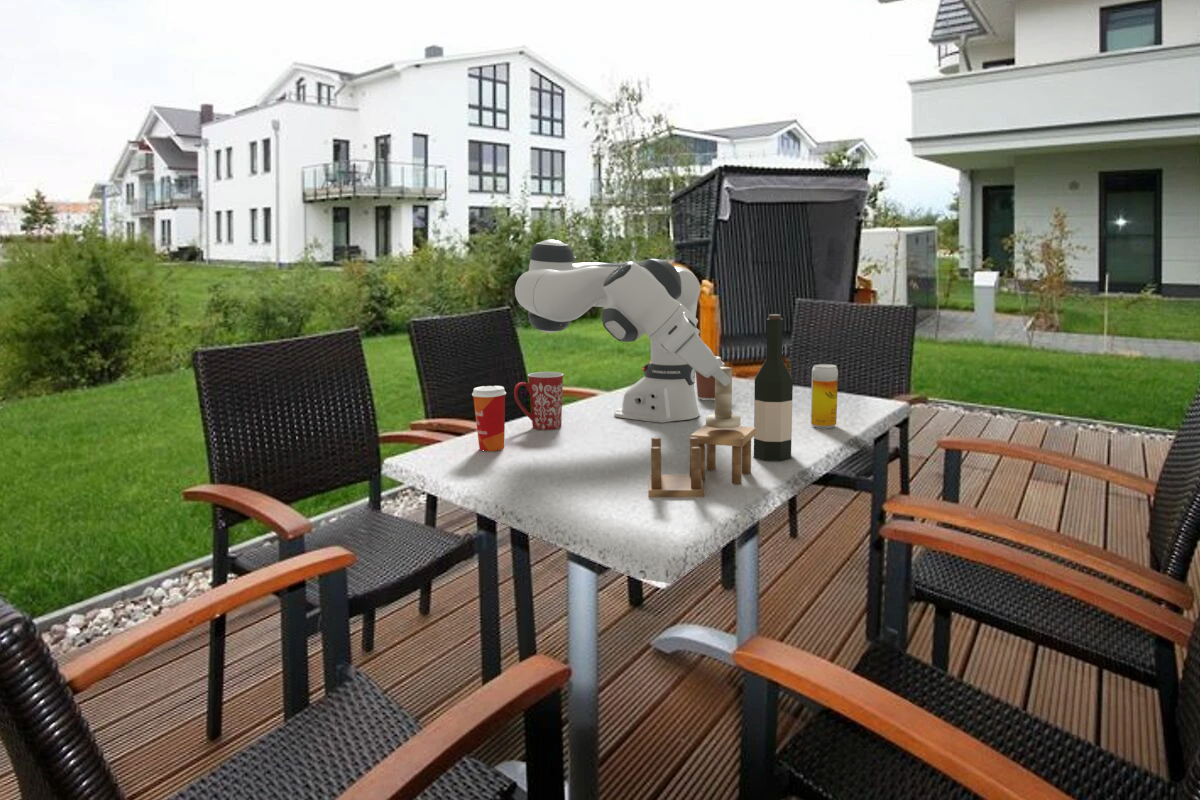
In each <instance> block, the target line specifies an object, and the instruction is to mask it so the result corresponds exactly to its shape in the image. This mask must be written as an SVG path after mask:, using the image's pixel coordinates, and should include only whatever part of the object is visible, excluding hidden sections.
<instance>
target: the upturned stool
mask: <svg viewBox="0 0 1200 800" xmlns="http://www.w3.org/2000/svg"><path fill="white" fill-rule="evenodd" d="M650 442H651V447H650V472H651V474H649V475H648V476H649V477H648V498H705V488H704V482H703V481H704V480H702V475H701V447H699V438H697V437H691V436H690V437H689V474H662V438H661V437H657V436H655V437H651V441H650Z"/></svg>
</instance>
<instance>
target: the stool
mask: <svg viewBox="0 0 1200 800" xmlns="http://www.w3.org/2000/svg"><path fill="white" fill-rule="evenodd" d="M755 430H756V428H755V427H754V426H743V425H742V426H741V425H740V426H738V427H735V428H713V427H709V426H707V425H706V424H705V425H703V426H702V427H700V428H699V429H697V430H696V431H694V432H693V433H691V434H690V438H691V437H697V438H699V447H701V475H702V481H705V480H706V470H707V471H711V472H712V471H716V466H717V465H716V463H717V460H716V459H717V458H716V457H717V454H716V453H717V452H716V451H717V447H716V445H717V446H725V447H727V446H728V447H731V484H733V485H740V484H742V474H743V475H750V474H751V473H752V439H754V436H755Z"/></svg>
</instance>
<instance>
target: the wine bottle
mask: <svg viewBox="0 0 1200 800" xmlns="http://www.w3.org/2000/svg"><path fill="white" fill-rule="evenodd" d="M781 317H782V316H781V314H779V313H777V314H776V313H773V314H769V315H768V318H766V350H765V351H766V356H765V358H766V359H765V360H764V362H763V363H762V365H761V367H760V368H759V370H758V372H757V373H756V375H755V377H754V403H753V404H754V408H753V409H754V410H753V411H754V412H753V413H754V414H753V415H754V417H753V419H754V420H753V427H755V428H756V430H755V436H754V437H753V458H754V459H757V460H761V461H764V462H783V461H787V460H791V459H792V437H793V436H792V435H793V434H792V433H793V432H792V429H793V387H794V383H793V382H794V379H793V376H792V374H791V373H790V371H789V369H788V368H787V365H786V363H785V362H784V360H783V358H782V357H783V321H784V319H783V318H781Z"/></svg>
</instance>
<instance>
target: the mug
mask: <svg viewBox="0 0 1200 800" xmlns="http://www.w3.org/2000/svg"><path fill="white" fill-rule="evenodd" d="M527 379H528V382H524V381H521V382H518V383H517V384H515V386H514V389H513V396H514V400H515V402H516V404H517V405H518V407H519V408H520V410H521V411H522V413H524V415H526V417H528V419H530V420H531V422H532V423H531V425H532V428H534V429H536V430H543V431H545V430H546V431H550V429H551V430H556V429H560V428H561V427H562V415H563V389H564V388H563V383H564V382H563V381H564V380H563V379H564V373H563V372H558V371H537V372H532V373H528V374H527ZM520 387H525V389H527V392H528V393H529V398H530V409H531V413H530V412H529V411H527V409H526V408H525V407H524V406H523V404H522V403H521V401H520V399H519V393H518V392H519V389H520Z"/></svg>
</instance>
